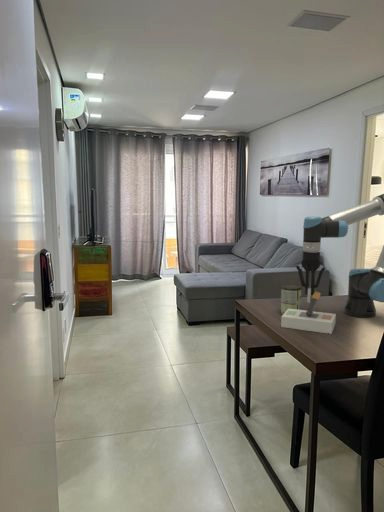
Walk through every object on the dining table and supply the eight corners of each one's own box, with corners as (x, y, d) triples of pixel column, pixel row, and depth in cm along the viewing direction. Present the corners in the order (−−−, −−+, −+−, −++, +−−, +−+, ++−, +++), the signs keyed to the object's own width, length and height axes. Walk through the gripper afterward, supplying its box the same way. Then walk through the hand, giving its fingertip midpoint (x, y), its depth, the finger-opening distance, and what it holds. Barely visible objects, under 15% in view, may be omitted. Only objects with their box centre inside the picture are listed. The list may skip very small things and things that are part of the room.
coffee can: (279, 309, 204) (279, 283, 201) (299, 309, 203) (299, 283, 200) (281, 315, 193) (282, 288, 191) (302, 315, 192) (303, 288, 190)
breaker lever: (312, 313, 179) (320, 293, 176) (310, 317, 174) (318, 296, 171) (307, 311, 180) (315, 291, 177) (304, 314, 175) (313, 294, 172)
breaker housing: (335, 324, 179) (335, 313, 178) (331, 333, 167) (331, 322, 166) (288, 318, 189) (288, 308, 188) (281, 326, 176) (281, 316, 176)
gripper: (295, 251, 172) (293, 302, 176) (325, 253, 166) (322, 305, 170) (298, 249, 179) (296, 298, 182) (327, 250, 173) (325, 301, 176)
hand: (309, 301), depth 176 cm, fingers closed
